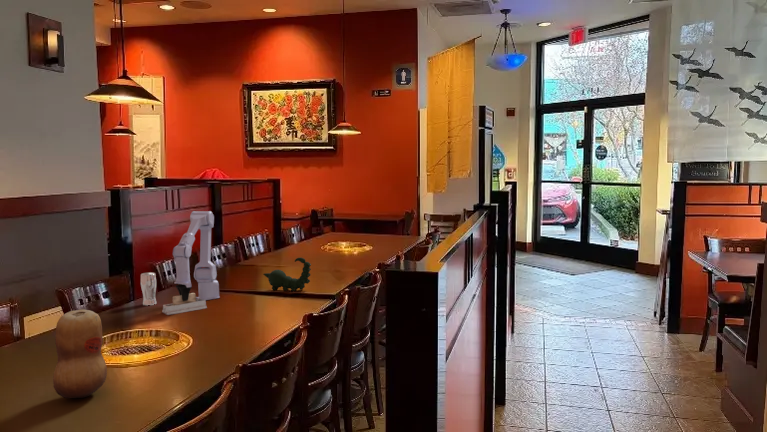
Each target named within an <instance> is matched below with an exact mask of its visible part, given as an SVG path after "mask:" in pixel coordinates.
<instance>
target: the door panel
mask: <svg viewBox="0 0 767 432" xmlns="http://www.w3.org/2000/svg"><path fill="white" fill-rule="evenodd" d="M196 297H197V295H196V293H195V292H191V293H190V292H189V297H188V301H183V300H182V295H180V294H178V295H173V296H172V303H173V305H178V304H184V303H190V302H196V299H197V298H196Z"/></svg>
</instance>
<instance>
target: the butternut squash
mask: <svg viewBox="0 0 767 432" xmlns="http://www.w3.org/2000/svg"><path fill="white" fill-rule="evenodd" d="M55 327H56V328H55V337H54V339H55V341H54V342H55V348H56V353H57V354H56V355H57V362H56V366H55V368H54V372H53V377H52V378H53V379H52V384H53V389H54V390H55V393H56V394H57V395H59V396H60V397H63V398H64V399H77V398H78V399H84V398H87V397H90V396H91V395H93V394H94V393H95V392H97V390H99V389H100V388H101V387H102V386H103V385H104V383H105V382H106V381H107V373H108V372H107V371H108V370H107V363H106V360H105V359H104V356H103V354H102V345H103V341H104V337H103V326H102V320H101V317H100V316H99V314H98V313H96V312H95V311H93V310H89V309H77V310H70V311H68V312H66V313H64V314H62V315H61V316H60V318H59V319H58V321H57V322H56V326H55Z"/></svg>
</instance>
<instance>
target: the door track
mask: <svg viewBox="0 0 767 432" xmlns="http://www.w3.org/2000/svg"><path fill="white" fill-rule="evenodd" d="M206 301H207V300H204V299H197V298H196V302H190V303H184V304H178V305H173V302H172V303H167V304H163V305H162V310H161V311H162V313H163V314H165V315H167V316H170V315H171V316H172V315H176V314H182V313H187V312H193V311H199V310H205V309H208V307H207V306H208V305H207V302H206Z"/></svg>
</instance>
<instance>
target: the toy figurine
mask: <svg viewBox="0 0 767 432" xmlns="http://www.w3.org/2000/svg"><path fill="white" fill-rule="evenodd" d="M296 262H300V263H301V264H303V267H302V269H301V270H302V272H301V274H300V277H299V278H295V277H294V278H293V277H292V276H290V275H287V274H286V273H285V271H283V270H282V269H274V270H272V271H271V272H268V273H263V274H262V275H263V276H264V277H266V278H267V279H268V283H269V285H270V286H271V289H272V291H273V292H275V290H276V291H278V290H279V288H282V291H286V292H287V291H288V290H289V289H290V290H291V292H293V291H294V292H295V291H296V290H298V289H299V290H303V289H304V288H305V287H306V286H305V285H306V284H309V283H310V282H311V280H310V279H309V277H310V276H311V273H310V271H311V270H312V268H311V265H312V264H311V262H310V261H306V259H305V258H303V257H296V258H295V259H294V263H296Z"/></svg>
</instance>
